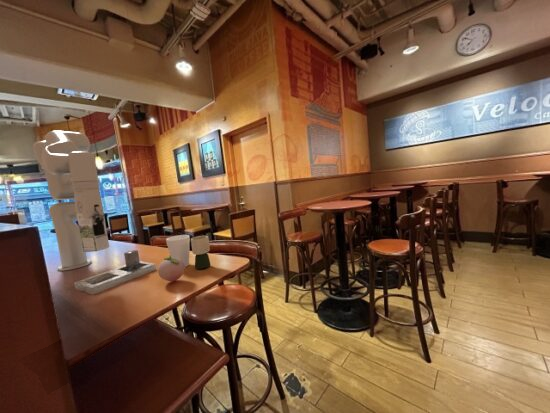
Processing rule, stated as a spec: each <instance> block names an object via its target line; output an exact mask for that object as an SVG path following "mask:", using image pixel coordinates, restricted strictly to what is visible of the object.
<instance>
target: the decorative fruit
mask: <svg viewBox="0 0 550 413" xmlns="http://www.w3.org/2000/svg"><path fill="white" fill-rule="evenodd" d="M184 272H185V265H184V263H183V262H182V261H181V260H180V259H173V258H171V256H170V255H169V256H167V257H164V258H163V260H162V261H161V262H160V263H159V265H158V267H157V274H158V276H159V278H161V280H165V281H168V282H172V283H174V282H176V281H177V280H179V279H180V278H181V277H182V276H183V275H184Z"/></svg>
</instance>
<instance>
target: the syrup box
mask: <svg viewBox="0 0 550 413" xmlns="http://www.w3.org/2000/svg"><path fill="white" fill-rule="evenodd" d="M93 216H98V215H94V214H93ZM77 219H78V221H77V223H78V224H77V225H78V226H79V229H80V235H81V240H82V246H83V251H84V252H86V253H91V252H92V253H93V252H99V251H103V250H106V249H108V248H110V242H109V237H108V231H107V230H108V229H107V226H106V219H105V217H104V219H103V221H104V223H103V224H104V230H105V234H104V235H99V236H94V231H93V225H94V224H93V221H92V216H91V217H90V218H88V219H85V218H83V215H82V214H81V213H77ZM95 220H96V219H95Z"/></svg>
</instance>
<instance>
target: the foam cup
mask: <svg viewBox="0 0 550 413" xmlns="http://www.w3.org/2000/svg"><path fill="white" fill-rule="evenodd" d="M165 241H166V246H167V248H168V252H169V257H170V256H171V258H173V259H180V260H181V261H182V262H183V263H184V265H185V267H186V266H188V265H189V266H190V246H191V245H190V243H191V238H190V235H189V234H180V235H174V236H170V237H167V238H166V239H165ZM189 266H188V267H189ZM186 268H187V267H186Z"/></svg>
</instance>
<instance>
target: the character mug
mask: <svg viewBox="0 0 550 413" xmlns="http://www.w3.org/2000/svg"><path fill="white" fill-rule="evenodd" d="M190 243H191V250H192V254H193V255H195V256H194V258H195V259H194V268H195V269H197V270H200V269H206V268H208V267H210V266H211V261H210V257H209V252H210V250H211V247H210V239H209V236H208V235H199V236H195V237H191V238H190Z"/></svg>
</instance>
